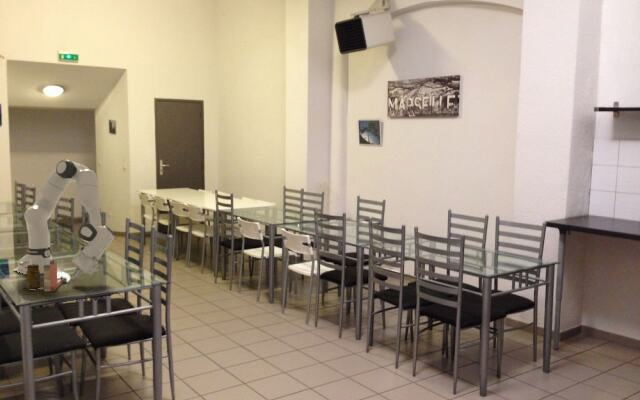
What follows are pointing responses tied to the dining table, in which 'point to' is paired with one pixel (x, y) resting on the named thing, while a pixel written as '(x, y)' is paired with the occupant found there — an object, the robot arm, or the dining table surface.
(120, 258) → the dining table surface
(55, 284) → the red l-shaped bracket
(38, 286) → the condiment
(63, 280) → the pivot base
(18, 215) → the dining table surface
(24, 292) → the dining table surface
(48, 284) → the latch post
